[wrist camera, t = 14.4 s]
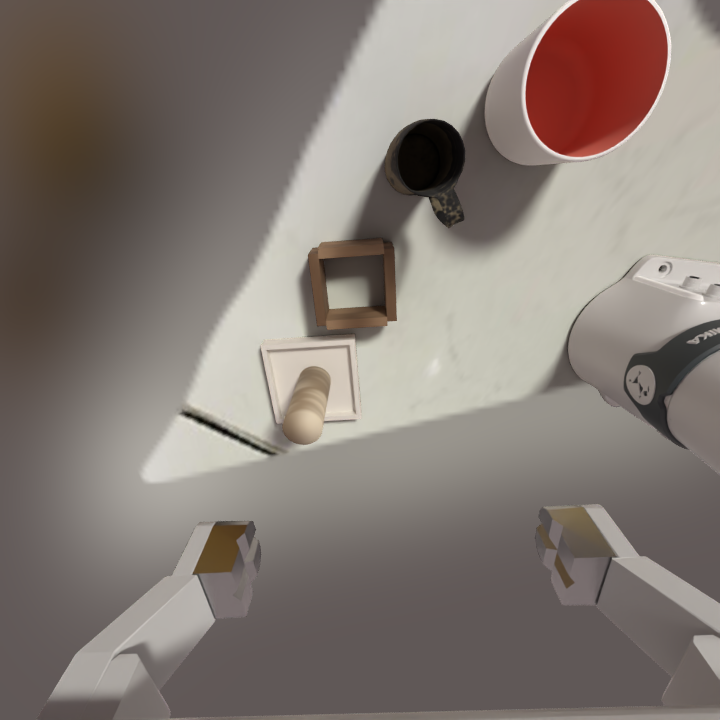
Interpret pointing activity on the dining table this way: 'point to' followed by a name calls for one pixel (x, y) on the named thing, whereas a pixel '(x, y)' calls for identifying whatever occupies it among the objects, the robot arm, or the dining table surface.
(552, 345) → the dining table surface
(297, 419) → the dowel
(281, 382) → the tray
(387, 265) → the holder
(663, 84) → the cup
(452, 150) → the mug
